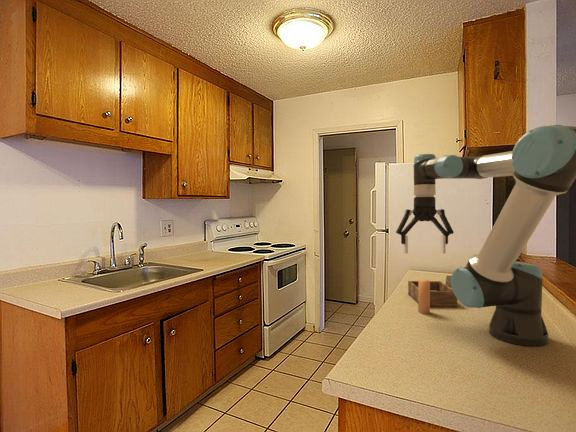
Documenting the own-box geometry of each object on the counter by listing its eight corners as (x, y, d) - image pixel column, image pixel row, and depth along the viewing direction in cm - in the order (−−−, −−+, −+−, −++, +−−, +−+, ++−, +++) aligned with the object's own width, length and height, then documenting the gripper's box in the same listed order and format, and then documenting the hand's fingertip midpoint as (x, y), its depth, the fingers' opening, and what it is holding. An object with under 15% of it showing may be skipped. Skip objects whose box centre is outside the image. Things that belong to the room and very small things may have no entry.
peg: (431, 314, 125) (431, 282, 125) (420, 313, 125) (420, 282, 125) (427, 310, 129) (427, 279, 129) (417, 310, 129) (417, 279, 129)
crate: (457, 306, 133) (457, 291, 133) (420, 306, 134) (420, 291, 134) (440, 294, 151) (440, 281, 151) (408, 294, 152) (408, 281, 152)
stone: (479, 282, 158) (474, 269, 153) (477, 301, 152) (472, 287, 147) (448, 281, 167) (443, 268, 162) (445, 298, 161) (440, 286, 156)
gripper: (454, 196, 128) (454, 251, 129) (388, 197, 130) (388, 251, 131) (463, 195, 121) (463, 254, 122) (392, 196, 123) (392, 254, 124)
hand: (424, 253), depth 126 cm, fingers open, 13 cm apart
